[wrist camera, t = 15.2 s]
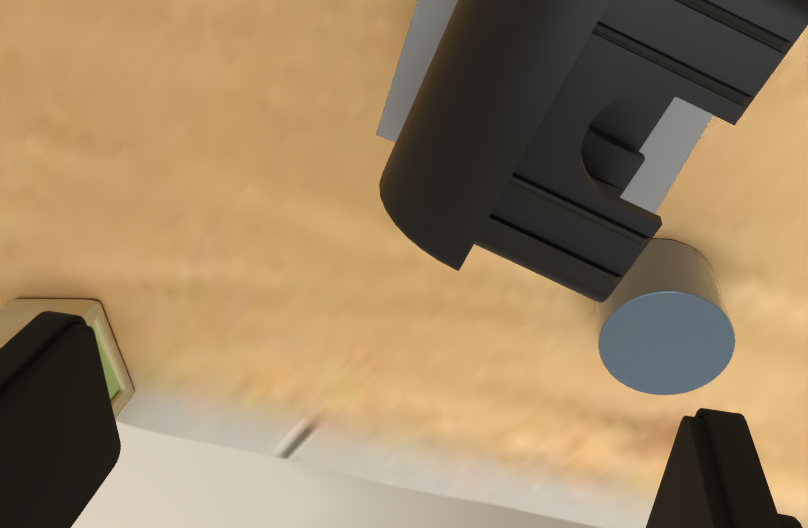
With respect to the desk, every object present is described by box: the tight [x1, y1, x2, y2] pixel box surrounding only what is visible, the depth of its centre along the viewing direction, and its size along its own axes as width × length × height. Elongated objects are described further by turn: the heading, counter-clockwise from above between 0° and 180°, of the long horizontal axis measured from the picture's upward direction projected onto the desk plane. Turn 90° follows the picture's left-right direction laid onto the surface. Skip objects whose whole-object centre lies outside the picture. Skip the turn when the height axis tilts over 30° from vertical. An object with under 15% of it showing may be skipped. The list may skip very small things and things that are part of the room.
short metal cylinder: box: [595, 239, 735, 395], centre depth 35 cm, size 6×6×5 cm
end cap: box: [379, 0, 808, 303], centre depth 19 cm, size 10×7×7 cm
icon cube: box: [376, 0, 713, 214], centre depth 26 cm, size 10×10×10 cm
